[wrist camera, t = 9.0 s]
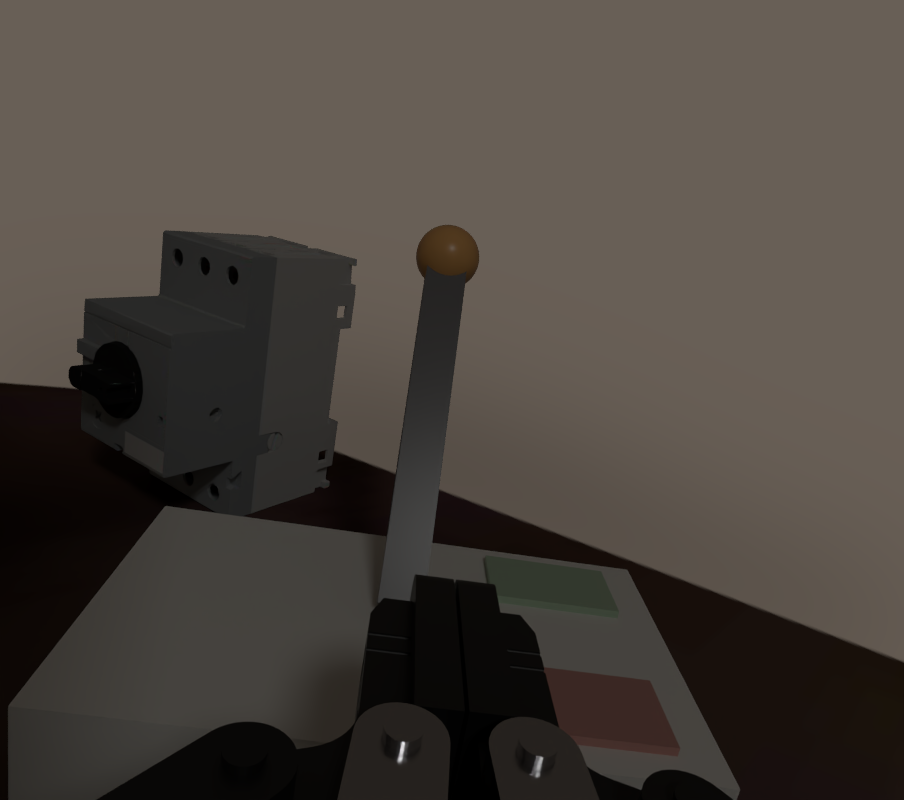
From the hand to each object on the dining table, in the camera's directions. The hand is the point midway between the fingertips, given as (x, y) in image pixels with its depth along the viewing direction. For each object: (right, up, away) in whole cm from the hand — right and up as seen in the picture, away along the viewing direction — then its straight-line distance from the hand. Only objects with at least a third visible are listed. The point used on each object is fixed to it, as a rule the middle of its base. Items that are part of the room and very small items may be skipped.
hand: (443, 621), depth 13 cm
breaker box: (-3, -9, +14) cm, 16 cm away
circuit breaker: (-15, -2, +31) cm, 34 cm away
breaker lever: (-2, -4, +12) cm, 13 cm away
